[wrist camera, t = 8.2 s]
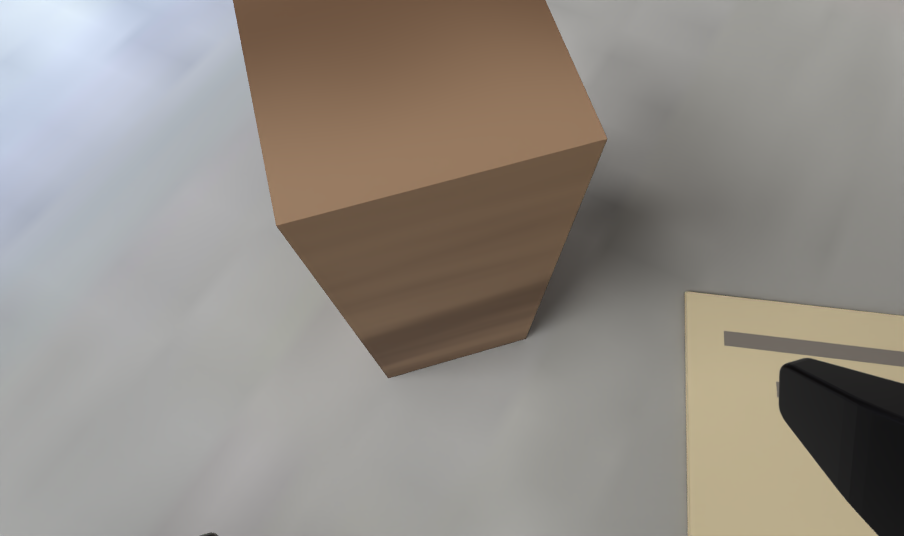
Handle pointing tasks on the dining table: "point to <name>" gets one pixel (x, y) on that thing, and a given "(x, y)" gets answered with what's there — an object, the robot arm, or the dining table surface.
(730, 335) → the letter
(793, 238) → the dining table surface
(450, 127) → the wooden cuboid post
